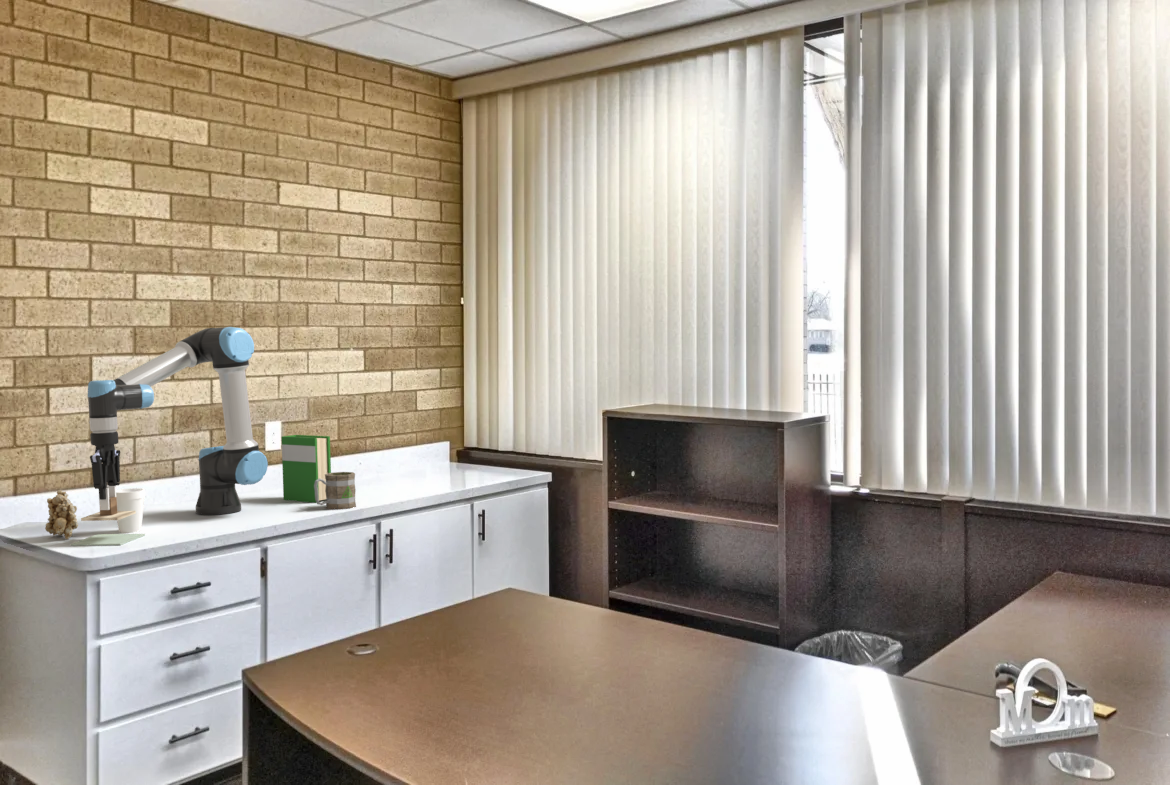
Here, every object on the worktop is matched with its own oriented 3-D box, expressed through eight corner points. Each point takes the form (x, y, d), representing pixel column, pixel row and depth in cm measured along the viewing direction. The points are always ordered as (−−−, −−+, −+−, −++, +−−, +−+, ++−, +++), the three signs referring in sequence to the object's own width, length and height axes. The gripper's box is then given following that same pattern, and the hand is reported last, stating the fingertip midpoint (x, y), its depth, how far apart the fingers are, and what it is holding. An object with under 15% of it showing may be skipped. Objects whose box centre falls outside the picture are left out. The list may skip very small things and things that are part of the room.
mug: (345, 503, 360) (344, 471, 359) (362, 506, 353) (361, 473, 352) (307, 509, 349) (306, 475, 348) (323, 512, 341) (322, 478, 341)
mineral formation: (68, 533, 311) (66, 486, 310) (87, 538, 302) (85, 489, 302) (41, 537, 305) (39, 489, 304) (59, 542, 296) (57, 492, 295)
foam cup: (133, 534, 307) (131, 492, 307) (107, 533, 309) (105, 492, 308) (152, 528, 317) (151, 488, 316) (127, 527, 318) (125, 488, 318)
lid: (135, 513, 303) (134, 494, 303) (117, 520, 292) (116, 500, 292) (100, 513, 304) (99, 495, 303) (81, 520, 293) (80, 501, 292)
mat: (145, 535, 305) (145, 533, 305) (120, 545, 290) (120, 543, 290) (97, 535, 306) (97, 534, 306) (70, 545, 291) (70, 544, 291)
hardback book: (331, 500, 369) (329, 436, 368) (317, 503, 363) (314, 438, 361) (298, 497, 378) (296, 434, 377) (283, 499, 372) (281, 436, 370)
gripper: (106, 428, 305) (110, 503, 306) (76, 434, 288) (81, 514, 290) (130, 428, 304) (134, 503, 306) (101, 434, 288) (106, 513, 289)
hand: (108, 508), depth 298 cm, fingers closed on lid, 3 cm apart
